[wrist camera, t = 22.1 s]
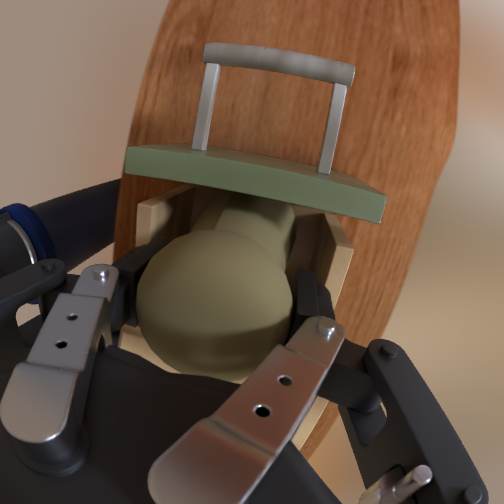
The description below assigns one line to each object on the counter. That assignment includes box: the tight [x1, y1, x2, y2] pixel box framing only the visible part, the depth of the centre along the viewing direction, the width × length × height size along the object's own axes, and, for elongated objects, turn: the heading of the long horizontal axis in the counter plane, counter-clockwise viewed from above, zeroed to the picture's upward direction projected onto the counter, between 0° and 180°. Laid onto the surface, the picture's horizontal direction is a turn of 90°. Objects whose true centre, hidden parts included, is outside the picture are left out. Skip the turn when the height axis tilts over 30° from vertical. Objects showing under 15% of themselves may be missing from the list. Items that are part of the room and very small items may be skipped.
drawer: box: [124, 42, 387, 328], centre depth 16 cm, size 19×11×7 cm, turn 170°
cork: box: [135, 189, 297, 382], centre depth 13 cm, size 6×6×11 cm
